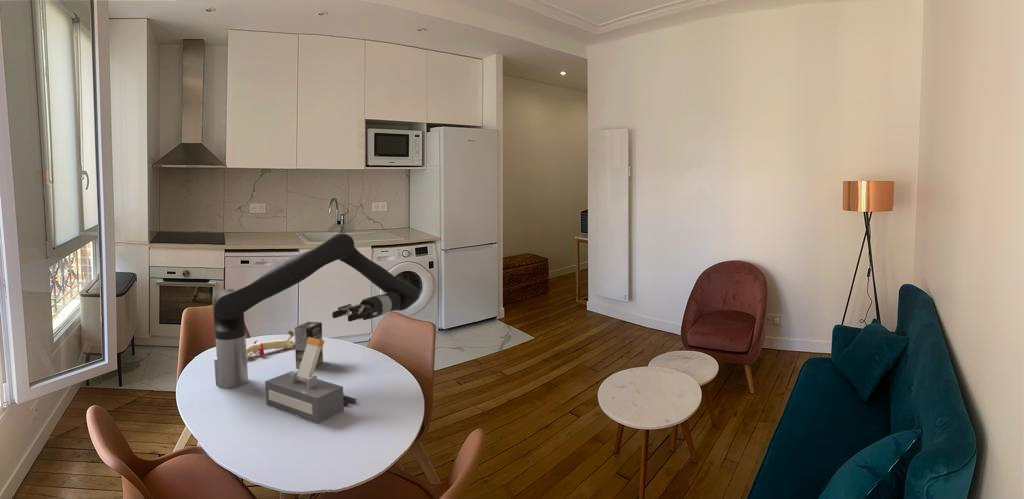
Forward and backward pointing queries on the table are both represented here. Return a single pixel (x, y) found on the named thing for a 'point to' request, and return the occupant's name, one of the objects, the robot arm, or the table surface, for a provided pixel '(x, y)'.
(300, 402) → the block
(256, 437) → the table surface
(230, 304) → the robot arm
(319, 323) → the coffee box
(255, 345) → the cat figure
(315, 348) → the breaker lever
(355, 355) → the table surface
